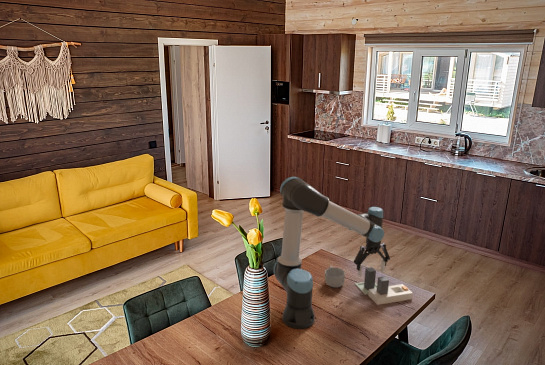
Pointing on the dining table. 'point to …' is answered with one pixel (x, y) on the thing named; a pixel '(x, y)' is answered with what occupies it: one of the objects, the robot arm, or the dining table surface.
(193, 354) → the dining table surface
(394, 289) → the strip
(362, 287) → the tray
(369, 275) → the plug
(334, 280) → the teacup
